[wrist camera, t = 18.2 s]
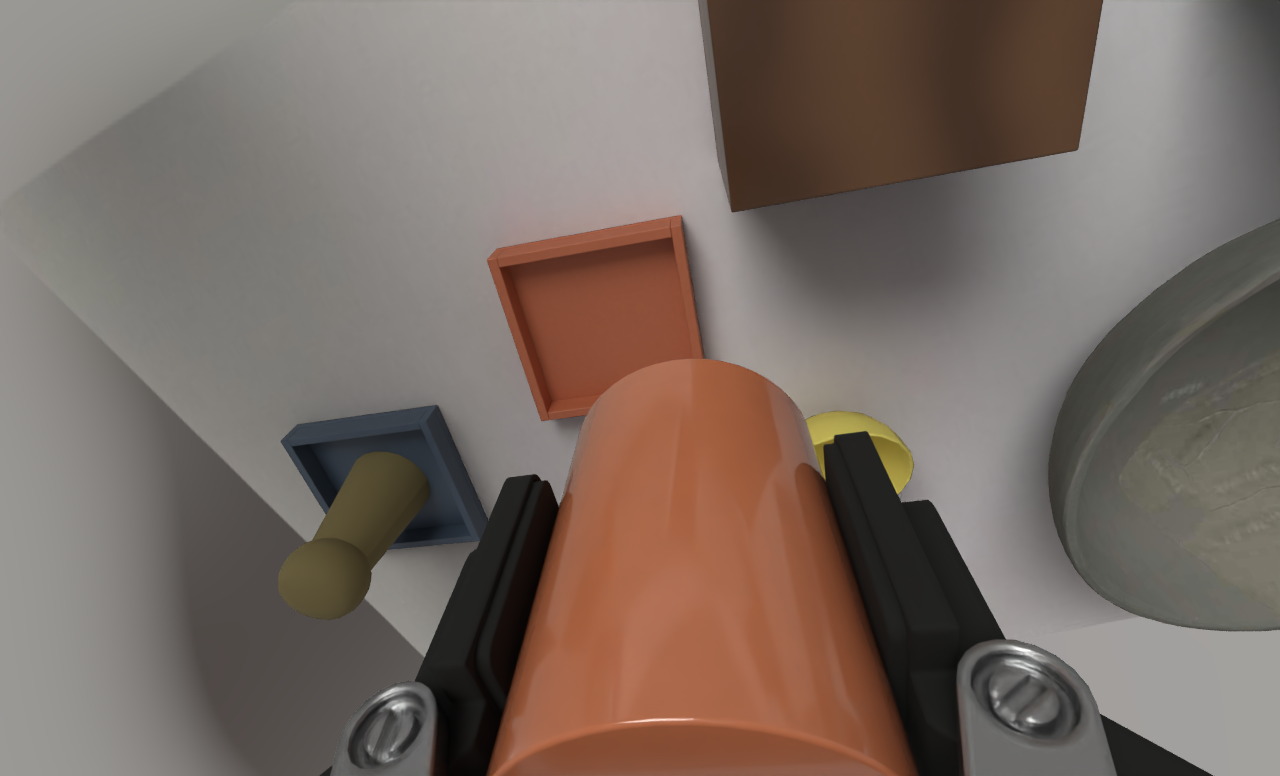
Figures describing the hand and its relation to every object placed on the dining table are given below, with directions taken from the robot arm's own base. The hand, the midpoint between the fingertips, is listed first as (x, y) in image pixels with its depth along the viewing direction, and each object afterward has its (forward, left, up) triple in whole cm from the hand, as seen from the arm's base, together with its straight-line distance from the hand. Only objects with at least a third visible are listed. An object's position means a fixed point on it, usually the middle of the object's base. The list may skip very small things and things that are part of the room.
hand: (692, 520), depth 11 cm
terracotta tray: (-6, -6, -25) cm, 27 cm away
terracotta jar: (0, 0, -2) cm, 2 cm away
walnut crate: (+8, +8, -25) cm, 28 cm away
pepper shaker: (-25, -16, -25) cm, 39 cm away
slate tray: (-25, -16, -25) cm, 39 cm away
